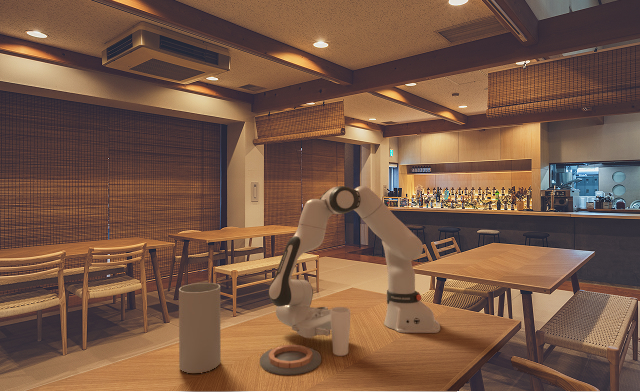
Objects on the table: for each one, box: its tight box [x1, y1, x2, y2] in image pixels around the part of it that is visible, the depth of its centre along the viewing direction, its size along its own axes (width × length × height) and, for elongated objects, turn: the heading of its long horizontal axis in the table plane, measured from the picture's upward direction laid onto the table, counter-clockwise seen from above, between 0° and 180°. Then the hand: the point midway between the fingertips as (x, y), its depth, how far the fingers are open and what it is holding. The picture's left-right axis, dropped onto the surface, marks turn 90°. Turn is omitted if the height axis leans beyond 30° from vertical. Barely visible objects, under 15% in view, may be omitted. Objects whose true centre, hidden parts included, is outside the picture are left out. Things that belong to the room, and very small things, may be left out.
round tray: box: [259, 344, 322, 376], centre depth 122 cm, size 20×20×2 cm
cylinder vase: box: [178, 282, 222, 374], centre depth 118 cm, size 12×12×25 cm
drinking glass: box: [330, 306, 351, 357], centre depth 127 cm, size 7×7×15 cm
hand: (338, 329), depth 128 cm, fingers open, 8 cm apart
